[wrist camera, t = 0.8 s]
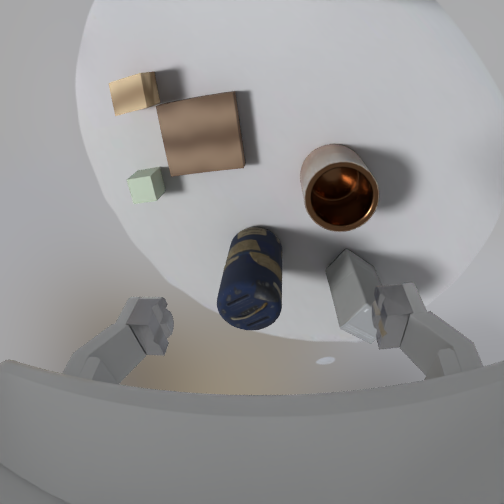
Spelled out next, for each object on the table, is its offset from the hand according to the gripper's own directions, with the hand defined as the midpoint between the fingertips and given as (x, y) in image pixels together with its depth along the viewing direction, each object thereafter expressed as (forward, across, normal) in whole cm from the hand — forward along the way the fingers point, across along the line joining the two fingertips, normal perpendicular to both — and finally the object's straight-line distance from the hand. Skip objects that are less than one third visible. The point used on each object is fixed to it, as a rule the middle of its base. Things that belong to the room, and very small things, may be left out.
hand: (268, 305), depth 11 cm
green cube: (+40, +23, +8) cm, 46 cm away
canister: (+40, +6, +23) cm, 46 cm away
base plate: (+40, +12, +1) cm, 41 cm away
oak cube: (+40, +21, -8) cm, 46 cm away
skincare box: (+39, -12, +29) cm, 50 cm away
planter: (+40, -8, +10) cm, 42 cm away
